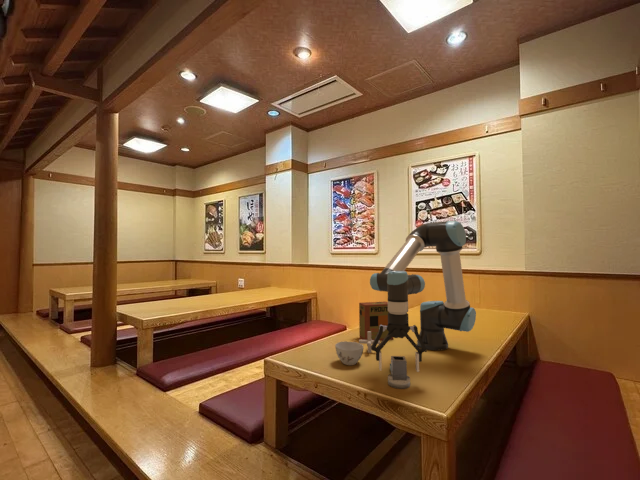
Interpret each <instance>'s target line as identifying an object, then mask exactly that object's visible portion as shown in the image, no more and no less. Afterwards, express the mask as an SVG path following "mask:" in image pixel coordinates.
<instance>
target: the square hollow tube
mask: <svg viewBox="0 0 640 480" xmlns="http://www.w3.org/2000/svg"><path fill="white" fill-rule="evenodd" d="M390 364H391V371H390V374H391V375H392V379H393V380H407V376H408V372H407V371H408V370H407V369H408V368H407V365H408V364H407V359H406V357H405V356H404V355H402V356H401V355H391V356H390Z"/></svg>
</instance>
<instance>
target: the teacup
mask: <svg viewBox="0 0 640 480" xmlns="http://www.w3.org/2000/svg"><path fill="white" fill-rule="evenodd" d="M334 346H335V352H336V353H335V354H336V355H337V358H338V359H339V360H340V362H341V363H342V364H343V365H347V366H353V365H354V366H355V365H356V364H357V363H358V362H359V361H360V359H361V357H362V356H363V353H364V345H363V343H359V342H357V341H339V342H337V343H335V345H334Z"/></svg>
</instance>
